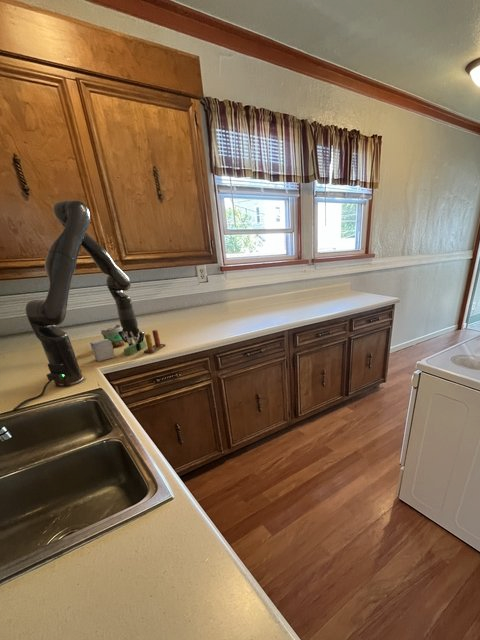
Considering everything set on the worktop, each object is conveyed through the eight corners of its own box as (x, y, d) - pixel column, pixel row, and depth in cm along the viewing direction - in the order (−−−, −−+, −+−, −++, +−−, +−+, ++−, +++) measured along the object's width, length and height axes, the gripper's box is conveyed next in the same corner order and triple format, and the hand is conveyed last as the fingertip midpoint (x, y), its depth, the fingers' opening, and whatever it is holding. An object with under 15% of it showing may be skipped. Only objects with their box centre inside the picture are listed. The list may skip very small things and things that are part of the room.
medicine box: (111, 355, 164) (106, 338, 160) (115, 357, 161) (110, 340, 157) (95, 359, 159) (89, 342, 155) (99, 361, 156) (93, 344, 152)
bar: (146, 346, 176) (144, 340, 175) (130, 355, 164) (129, 349, 163) (141, 346, 177) (139, 340, 175) (125, 354, 164) (123, 349, 163)
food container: (116, 349, 172) (110, 331, 167) (105, 349, 173) (100, 330, 168) (131, 342, 182) (126, 324, 178) (121, 341, 183) (116, 324, 179)
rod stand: (165, 345, 177) (161, 329, 172) (153, 353, 166) (149, 336, 162) (156, 345, 177) (153, 329, 173) (144, 352, 167) (140, 335, 163)
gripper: (109, 318, 160) (119, 352, 168) (135, 319, 158) (144, 353, 166) (119, 315, 166) (128, 347, 175) (144, 315, 164) (152, 348, 173)
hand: (136, 350), depth 170 cm, fingers closed on bar, 3 cm apart
